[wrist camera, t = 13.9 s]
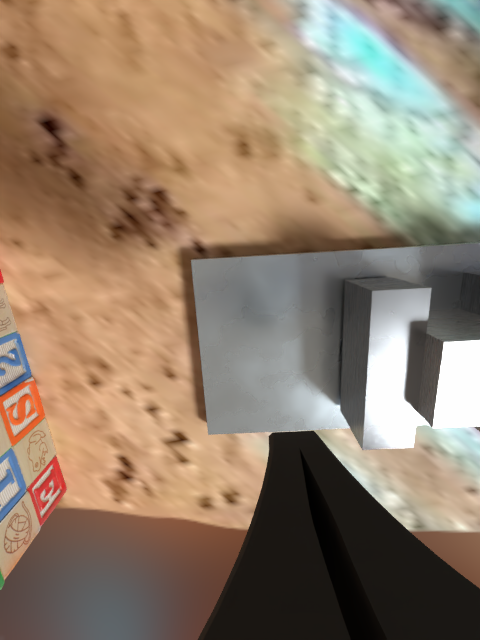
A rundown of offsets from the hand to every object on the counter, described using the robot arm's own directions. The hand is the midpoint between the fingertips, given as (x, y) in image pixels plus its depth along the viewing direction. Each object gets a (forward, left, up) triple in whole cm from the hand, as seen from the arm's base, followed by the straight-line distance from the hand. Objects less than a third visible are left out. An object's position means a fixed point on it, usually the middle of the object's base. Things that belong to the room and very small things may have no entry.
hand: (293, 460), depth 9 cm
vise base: (-6, 0, -10) cm, 12 cm away
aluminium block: (-9, 0, -9) cm, 13 cm away
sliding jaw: (-5, 0, -9) cm, 10 cm away
